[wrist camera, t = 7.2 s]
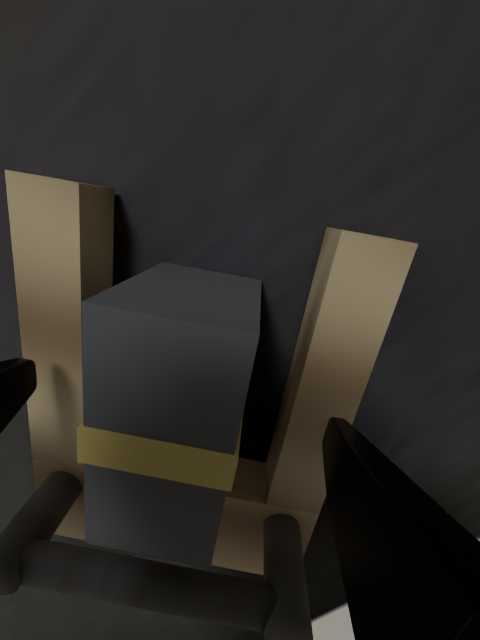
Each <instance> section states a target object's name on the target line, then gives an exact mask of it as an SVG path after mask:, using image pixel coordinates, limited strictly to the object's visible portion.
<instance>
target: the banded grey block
mask: <svg viewBox="0 0 480 640" xmlns="http://www.w3.org/2000/svg"><path fill="white" fill-rule="evenodd" d="M261 281H262V280H258V279H253V278H247V277H242V276H236V275H231V274H226V273H220V272H215V271H209V270H204V269H198V268H193V267H188V266H182V265H177V264H171V263H166V262H162V263H160V264H158V265H156V266H154V267H152V268H150V269H148V270H146V271H144V272H142V273H140V274H138V275H135V276H133V277H131V278H129V279H127V280H125V281H123V282H121V283H119V284H117V285H115V286H113V287H111V288H109V289H107V290H105V291H103V292H100V293H98V294H96V295H94V296H92V297H90V298H88V299H86V300H84V301H82V367H83V421H82V423H81V424H80V425H79V426H78V427H77V462H80V463H84V498H85V543H87V544H92V545H97V546H102V547H107V548H112V549H117V550H122V551H127V552H132V553H137V554H142V555H147V556H152V557H157V558H162V559H168V560H173V561H178V562H183V563H188V564H193V565H198V566H203V567H208V568H211V564H212V559H213V554H214V550H215V545H216V540H217V535H218V531H219V526H220V521H221V516H222V511H223V507H224V502H225V497H226V492H227V491H229V492H231V491H232V486H233V482H234V477H235V472H236V468H237V463H238V458H239V448H240V438H241V429H242V419H243V412H244V407H245V402H246V397H247V393H248V388H249V383H250V378H251V373H252V369H253V364H254V359H255V354H256V350H257V345H258V340H259V335H260V309H261Z"/></svg>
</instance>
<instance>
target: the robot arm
mask: <svg viewBox="0 0 480 640" xmlns="http://www.w3.org/2000/svg"><path fill="white" fill-rule="evenodd" d="M36 387H37V375H36V364H35V362H34V361H33V360H30V359H25V358H15V359H10V360H5V361H1V362H0V434H1V432H2V431H3V430H4V429H5V428H6V426H7V425H8V424H9V423H10V421H11V420H12V419H13V418H14V417H15V415H16V414H17V413H18V412H19V410H20V409H21V408H22V407H23V405H24V404H25V403H26V402H27V400H28V399H29V398H30V397H31V395H32V394H33V393H34V391H35V390H36ZM322 453H323V464H324V475H325V486H326V496H327V502H328V507H329V512H330V517H331V522H332V527H333V532H334V537H335V542H336V547H337V552H338V557H339V562H340V567H341V572H342V577H343V582H344V587H345V592H346V597H347V602H348V607H349V612H350V617H351V622H352V627H353V632H354V637H355V640H480V541H478V540H477V539H476V538H475V537H474V536H473V535H472V534H471V533H469V532H468V531H467V530H466V529H465V528H464V527H463V526H462V525H461V524H459V523H458V522H457V521H456V520H455V519H454V518H453V517H452V516H451V515H449V514H447V512H446V511H445V510H444V509H443V508H442V507H441V506H440V505H439V504H437V503H436V502H435V501H434V500H433V499H432V498H431V497H430V496H429V495H428V494H427V493H425V492H424V491H423V490H422V489H421V488H420V487H419V486H418V485H417V484H416V483H415V482H413V481H412V480H411V479H410V478H409V477H408V476H407V475H406V474H405V473H404V472H402V471H401V470H400V469H399V468H398V467H397V466H396V465H395V464H394V463H393V462H392V461H390V460H389V459H388V458H387V457H386V456H385V455H384V454H383V453H382V452H381V451H380V450H378V449H377V448H376V447H375V446H374V445H373V444H372V443H371V442H370V441H369V440H367V439H366V438H365V437H364V436H363V435H362V434H361V433H360V432H359V431H358V430H357V429H355V428H354V427H353V426H352V425H351V424H350V423H349V422H348V421H347V420H345V419H343V418H338V417H331V418H330V419H329V421H328V424H327V427H326V430H325V433H324V436H323V439H322Z"/></svg>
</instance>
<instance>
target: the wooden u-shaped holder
mask: <svg viewBox="0 0 480 640" xmlns="http://www.w3.org/2000/svg"><path fill="white" fill-rule="evenodd" d="M5 178H6V188H7V199H8V209H9V220H10V230H11V241H12V251H13V261H14V272H15V282H16V293H17V303H18V314H19V324H20V335H21V345H22V355H23V358H25V359H30V360H33V361H34V362H35V364H36V375H37V387H36V390H35V391H34V393H33V394H32V395H31V397H30V398H29V399H28V400H27V408H28V418H29V428H30V439H31V449H32V460H33V470H34V481H35V492H34V494H33V495H32V496H31V497H30V499H29V500H28V501H27V502H26V503H25V505H24V506H23V507H22V508H21V509H20V511H19V512H18V513H17V514H16V516H15V517H14V518H13V519H12V520H11V522H10V523H9V524H8V525H7V527H6V528H5V529H4V530H3V531H2V533H1V534H0V594H1V595H8V594H12V593H14V592H16V591H17V589H18V588H19V586H20V585H25V586H31V587H36V588H41V589H46V590H51V591H56V592H61V593H66V594H71V595H76V596H81V597H86V598H91V599H96V600H101V601H106V602H111V603H116V604H121V605H126V606H131V607H136V608H141V609H146V610H151V611H157V612H162V613H167V614H172V615H177V616H182V617H187V618H192V619H197V620H202V621H207V622H212V623H217V624H222V625H227V626H232V627H237V628H242V629H247V630H252V631H257V632H262V633H263V635H264V639H265V640H313V635H312V625H311V617H310V608H309V599H308V591H307V582H306V573H305V565H304V554H305V552H306V549H307V546H308V543H309V541H310V538H311V535H312V533H313V530H314V527H315V524H316V522H317V519H318V516H319V513H320V511H321V508H322V505H323V503H324V500H325V497H326V486H325V475H324V464H323V453H322V439H323V436H324V433H325V430H326V427H327V424H328V421H329V419H330V418H331V417H338V418H343V419H345V420H347V421H348V422H349V423H350V424H351V425H352V423H353V421H354V418H355V415H356V412H357V410H358V407H359V404H360V402H361V399H362V396H363V393H364V391H365V388H366V385H367V382H368V380H369V377H370V374H371V372H372V369H373V366H374V363H375V361H376V358H377V355H378V352H379V350H380V347H381V344H382V342H383V339H384V336H385V333H386V331H387V328H388V325H389V322H390V320H391V317H392V314H393V312H394V309H395V306H396V303H397V301H398V298H399V295H400V292H401V290H402V287H403V284H404V282H405V279H406V276H407V273H408V271H409V268H410V265H411V262H412V260H413V257H414V254H415V251H416V249H417V246H418V244H416V243H411V242H406V241H401V240H396V239H391V238H386V237H380V236H375V235H369V234H364V233H358V232H352V231H347V230H341V229H336V228H330V227H327V228H326V231H325V235H324V239H323V243H322V247H321V251H320V255H319V259H318V263H317V266H316V270H315V274H314V278H313V282H312V286H311V290H310V294H309V298H308V301H307V305H306V309H305V313H304V317H303V321H302V325H301V329H300V333H299V336H298V340H297V344H296V348H295V352H294V356H293V360H292V364H291V368H290V371H289V375H288V379H287V383H286V387H285V391H284V395H283V399H282V402H281V406H280V410H279V414H278V418H277V422H276V426H275V430H274V434H273V437H272V441H271V445H270V449H269V453H268V457H267V461H266V463H265V462H260V461H255V460H250V459H244V458H238V463H237V468H236V472H235V477H234V482H233V486H232V491H231V492H229V491H227V492H226V497H225V502H224V507H223V511H222V516H221V521H220V526H219V531H218V535H217V540H216V545H215V550H214V554H213V559H212V564H211V565H214V566H219V567H224V568H229V569H234V570H239V571H244V572H250V573H255V574H260V575H264V582H259V581H254V580H249V579H243V578H238V577H233V576H228V575H223V574H218V573H213V572H208V571H203V570H198V569H192V568H187V567H182V566H177V565H172V564H167V563H162V562H157V561H152V560H147V559H141V558H136V557H131V556H126V555H121V554H116V553H111V552H106V551H101V550H96V549H90V548H85V547H80V546H75V545H70V544H65V543H60V542H55V541H50V539H51V537H52V536H53V534H55V535H61V536H66V537H71V538H76V539H81V540H85V498H84V463H80V462H77V427H78V426H79V425H80V424H81V423H82V421H83V367H82V301H84V300H86V299H88V298H90V297H92V296H94V295H96V294H98V293H100V292H103V291H105V290H107V289H109V288H111V287H113V238H114V189H113V188H107V187H102V186H96V185H90V184H85V183H79V182H74V181H68V180H63V179H57V178H51V177H45V176H39V175H33V174H27V173H21V172H15V171H9V170H5Z"/></svg>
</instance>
